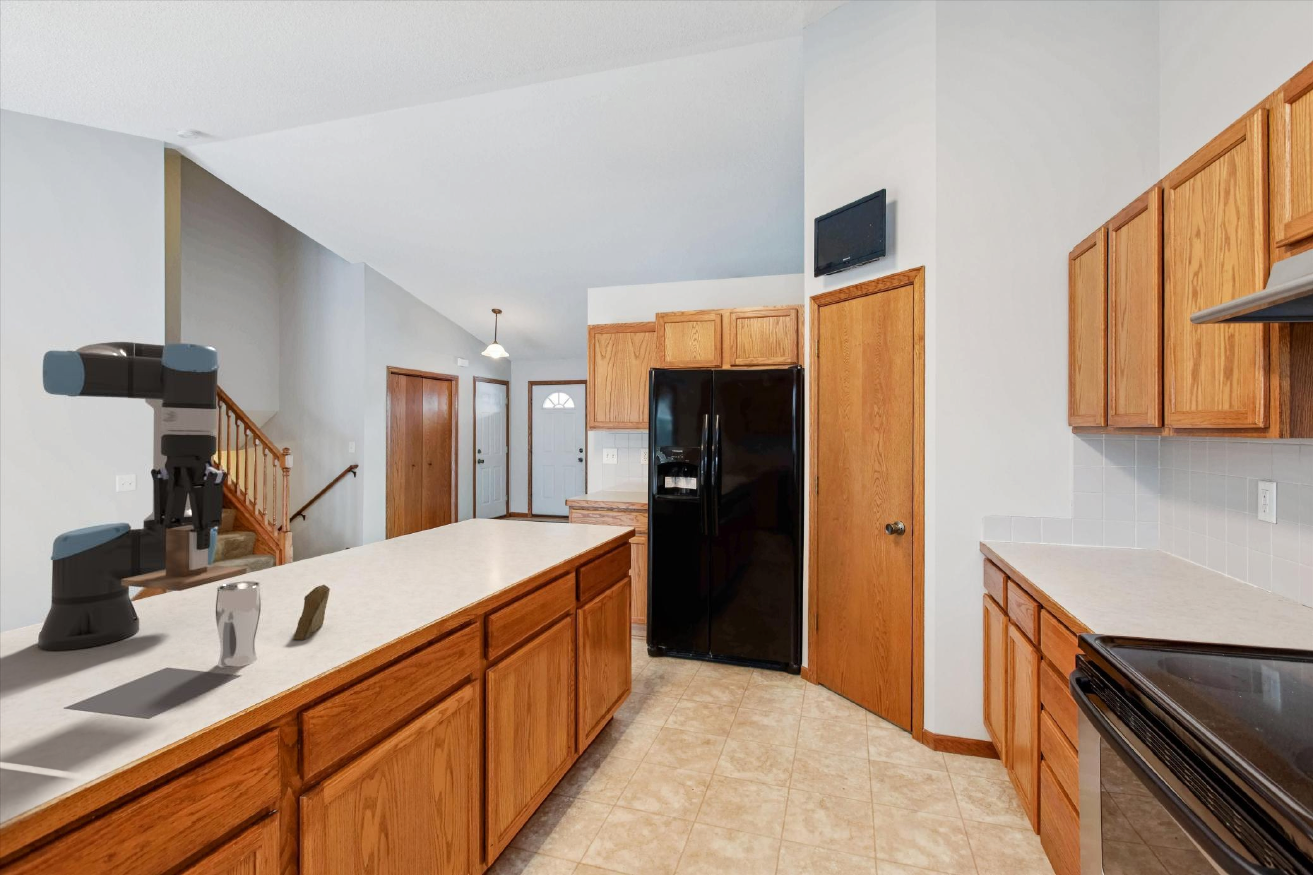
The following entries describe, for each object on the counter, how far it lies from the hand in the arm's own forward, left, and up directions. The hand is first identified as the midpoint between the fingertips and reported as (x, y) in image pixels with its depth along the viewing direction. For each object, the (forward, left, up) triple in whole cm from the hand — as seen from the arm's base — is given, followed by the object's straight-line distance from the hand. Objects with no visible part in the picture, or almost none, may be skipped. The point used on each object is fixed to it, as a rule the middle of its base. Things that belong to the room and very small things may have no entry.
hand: (187, 566), depth 100 cm
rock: (+1, +27, -21) cm, 34 cm away
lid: (0, 0, -2) cm, 2 cm away
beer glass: (+2, +9, -21) cm, 23 cm away
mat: (0, -4, -20) cm, 21 cm away
